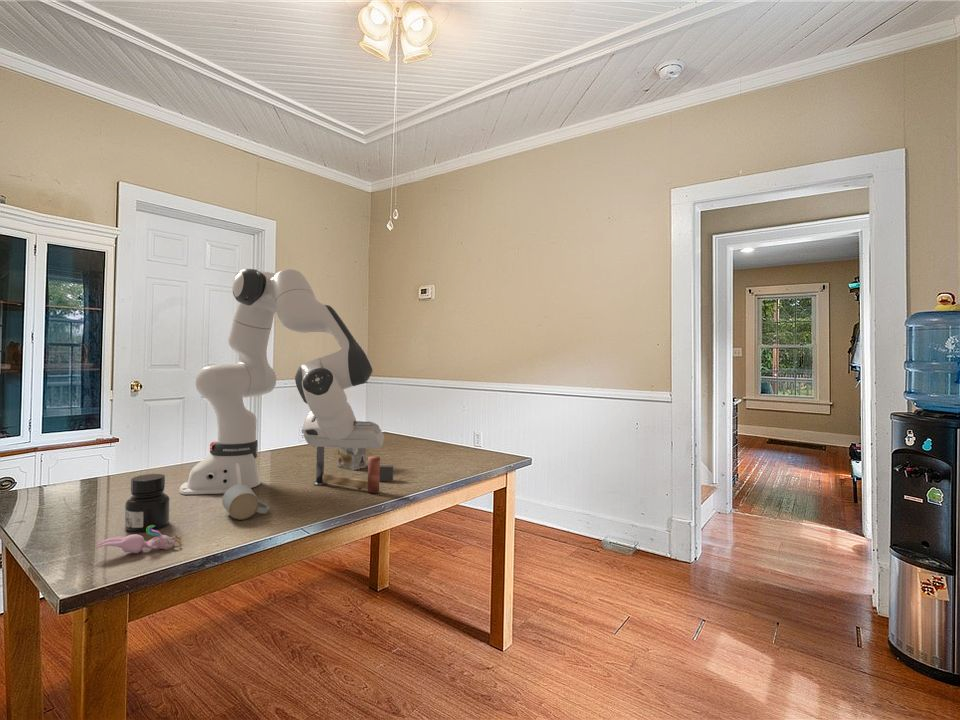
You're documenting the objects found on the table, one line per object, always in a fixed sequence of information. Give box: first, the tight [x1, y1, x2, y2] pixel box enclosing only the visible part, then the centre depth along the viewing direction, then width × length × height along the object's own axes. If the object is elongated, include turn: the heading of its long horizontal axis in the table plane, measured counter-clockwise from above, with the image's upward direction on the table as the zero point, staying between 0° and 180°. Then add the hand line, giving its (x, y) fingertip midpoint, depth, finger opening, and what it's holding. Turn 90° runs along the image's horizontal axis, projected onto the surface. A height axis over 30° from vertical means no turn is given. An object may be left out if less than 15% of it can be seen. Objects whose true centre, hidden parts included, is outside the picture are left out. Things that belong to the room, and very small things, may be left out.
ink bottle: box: [124, 473, 170, 533], centre depth 117 cm, size 10×9×12 cm
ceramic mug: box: [222, 484, 270, 521], centre depth 126 cm, size 11×8×8 cm
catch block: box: [379, 464, 394, 481], centre depth 163 cm, size 5×2×5 cm, turn 98°
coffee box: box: [337, 447, 367, 471], centre depth 180 cm, size 9×6×16 cm
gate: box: [322, 456, 381, 494], centre depth 152 cm, size 21×4×11 cm, turn 68°
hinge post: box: [312, 447, 327, 486], centre depth 157 cm, size 4×4×14 cm
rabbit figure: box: [95, 525, 182, 554], centre depth 102 cm, size 6×6×15 cm
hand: (352, 452), depth 130 cm, fingers closed
